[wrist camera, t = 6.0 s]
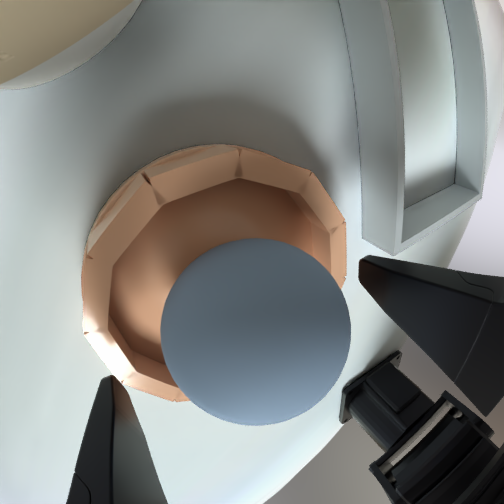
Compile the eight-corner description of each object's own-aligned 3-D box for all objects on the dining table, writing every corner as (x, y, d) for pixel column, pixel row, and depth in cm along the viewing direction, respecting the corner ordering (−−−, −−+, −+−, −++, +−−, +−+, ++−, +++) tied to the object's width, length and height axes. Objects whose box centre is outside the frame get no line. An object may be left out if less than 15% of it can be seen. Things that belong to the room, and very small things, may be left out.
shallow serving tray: (457, 188, 18) (481, 198, 16) (362, 238, 15) (393, 256, 13) (442, -15, 10) (469, -16, 8) (321, -61, 7) (356, -76, 5)
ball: (275, 190, 10) (405, 259, 6) (292, 309, 13) (377, 393, 9) (119, 251, 9) (153, 391, 4) (176, 364, 12) (231, 479, 7)
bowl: (322, 312, 16) (346, 333, 14) (148, 396, 13) (158, 428, 11) (305, 117, 11) (341, 121, 9) (35, 208, 8) (20, 230, 6)
